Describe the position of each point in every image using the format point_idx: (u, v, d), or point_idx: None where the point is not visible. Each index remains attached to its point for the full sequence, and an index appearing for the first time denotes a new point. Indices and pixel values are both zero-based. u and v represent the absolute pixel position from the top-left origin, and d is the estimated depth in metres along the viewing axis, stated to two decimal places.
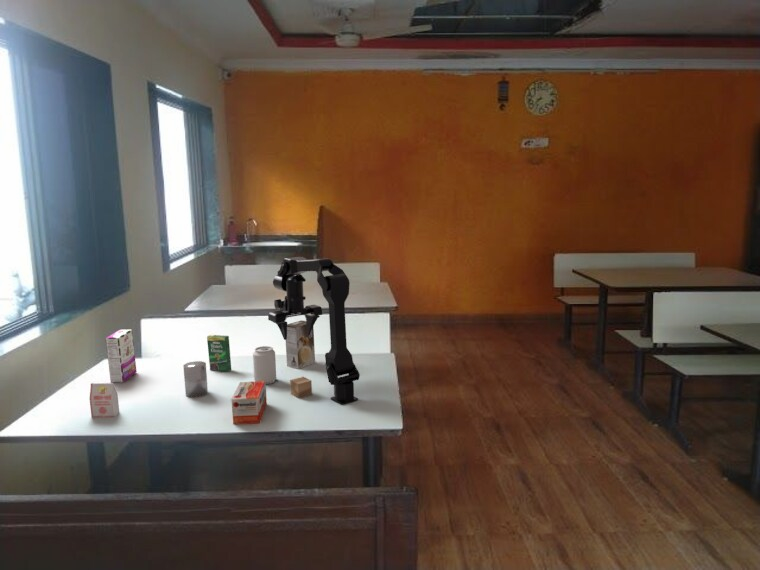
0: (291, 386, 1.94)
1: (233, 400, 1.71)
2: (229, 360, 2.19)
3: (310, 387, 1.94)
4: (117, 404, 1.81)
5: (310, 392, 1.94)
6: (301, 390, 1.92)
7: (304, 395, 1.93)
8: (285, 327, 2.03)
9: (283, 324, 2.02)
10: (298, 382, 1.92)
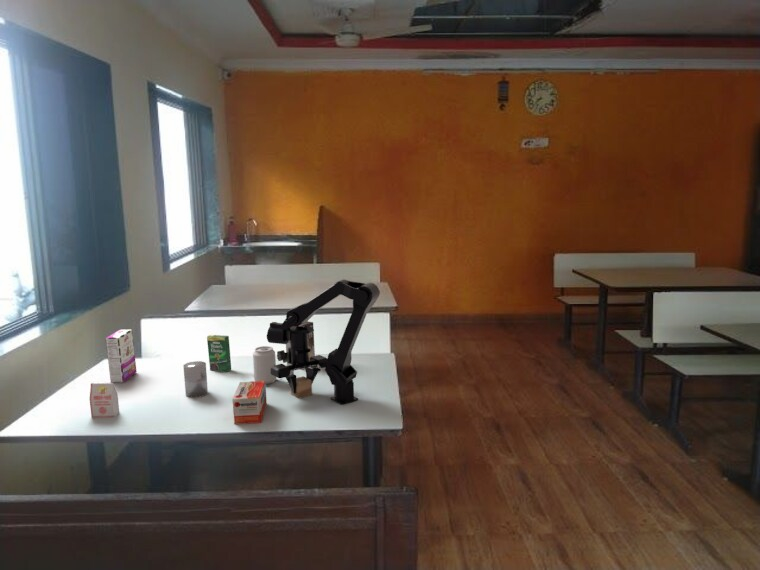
0: None
1: (234, 400, 1.71)
2: (229, 360, 2.19)
3: (310, 387, 1.94)
4: (117, 404, 1.81)
5: (310, 392, 1.94)
6: (301, 390, 1.92)
7: (304, 395, 1.93)
8: (294, 381, 1.90)
9: (292, 378, 1.89)
10: (298, 382, 1.92)
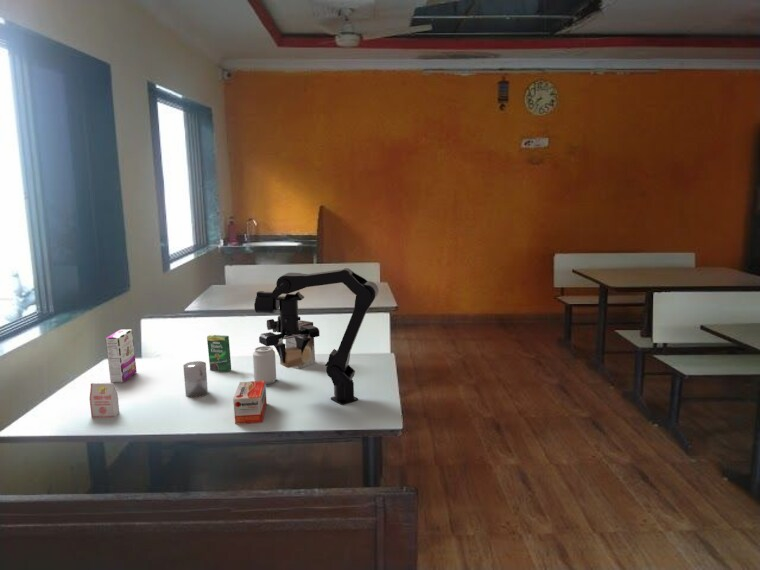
0: None
1: (235, 400, 1.71)
2: (229, 360, 2.19)
3: (300, 356, 1.89)
4: (117, 404, 1.81)
5: (300, 362, 1.90)
6: (290, 359, 1.87)
7: (293, 364, 1.88)
8: (283, 350, 1.85)
9: (281, 346, 1.84)
10: (287, 351, 1.87)
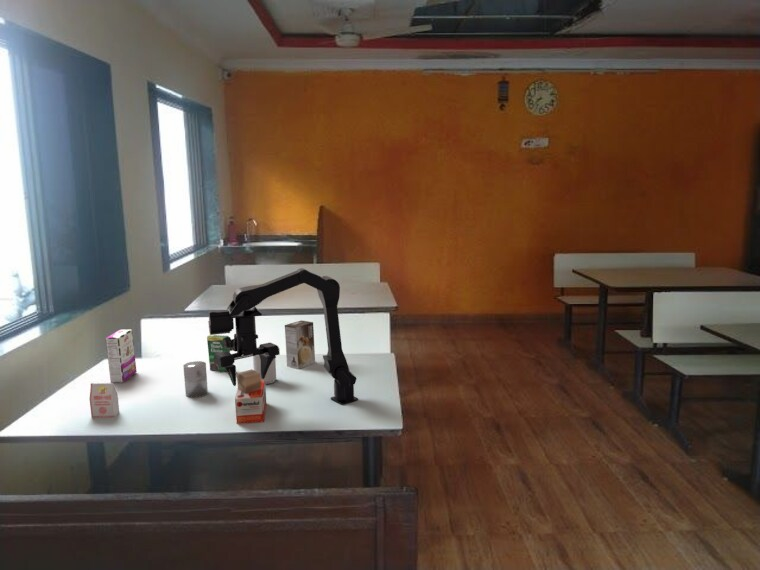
0: (238, 380, 1.78)
1: (237, 400, 1.71)
2: None
3: (259, 381, 1.78)
4: (117, 404, 1.81)
5: (259, 386, 1.78)
6: (249, 384, 1.75)
7: (252, 389, 1.76)
8: (233, 371, 1.72)
9: (231, 368, 1.71)
10: (245, 375, 1.76)
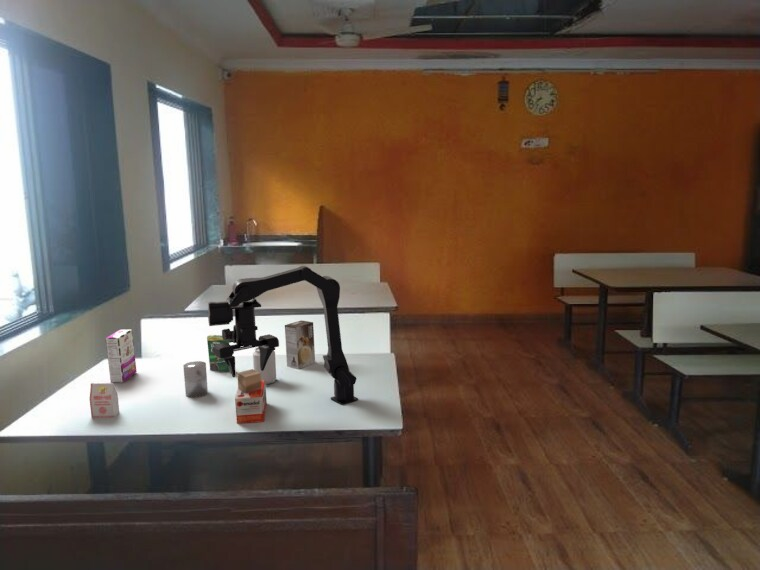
0: (238, 379, 1.78)
1: (237, 399, 1.72)
2: None
3: (259, 380, 1.78)
4: (117, 404, 1.81)
5: (259, 386, 1.78)
6: (249, 384, 1.76)
7: (252, 389, 1.77)
8: (232, 363, 1.71)
9: (230, 360, 1.70)
10: (245, 375, 1.76)
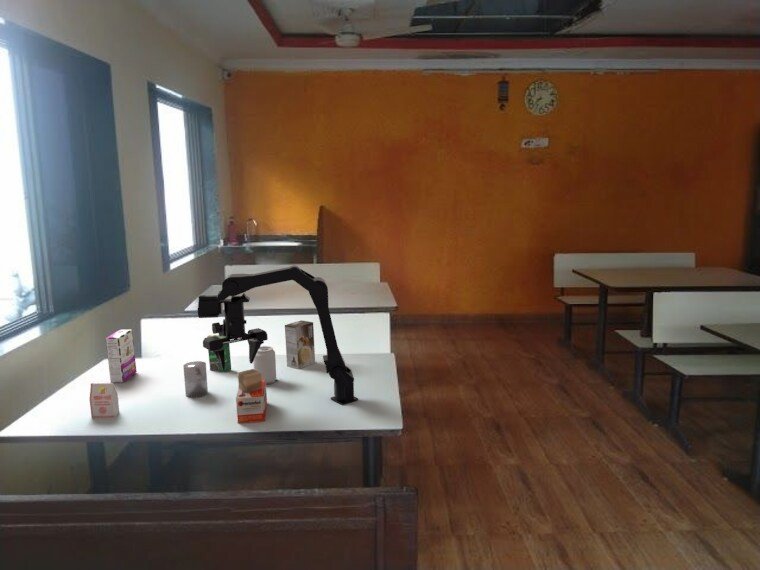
0: (239, 379, 1.78)
1: (238, 399, 1.72)
2: (229, 360, 2.19)
3: (260, 380, 1.78)
4: (117, 404, 1.81)
5: (260, 386, 1.78)
6: (250, 384, 1.76)
7: (253, 389, 1.77)
8: (222, 355, 1.77)
9: (219, 352, 1.76)
10: (246, 375, 1.76)
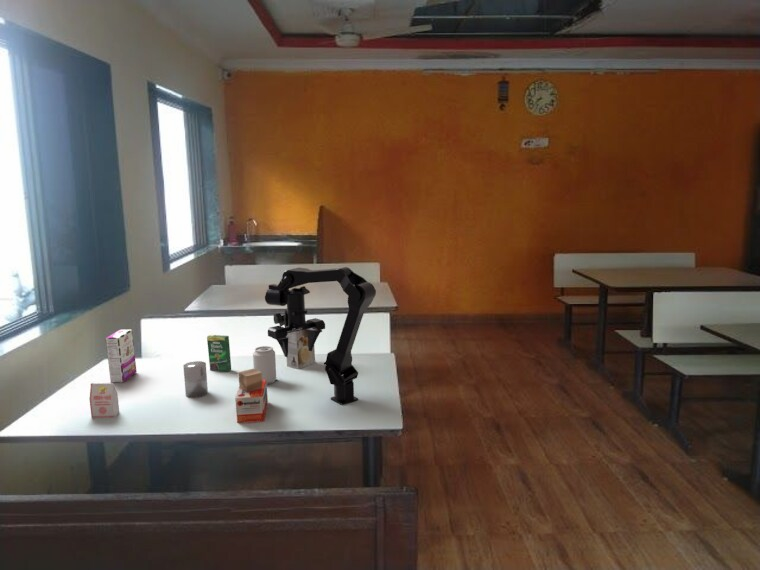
0: (239, 379, 1.79)
1: (237, 399, 1.72)
2: (229, 360, 2.19)
3: (260, 380, 1.78)
4: (117, 404, 1.81)
5: (260, 385, 1.78)
6: (250, 383, 1.76)
7: (253, 388, 1.77)
8: (286, 343, 1.90)
9: (284, 340, 1.88)
10: (246, 374, 1.76)
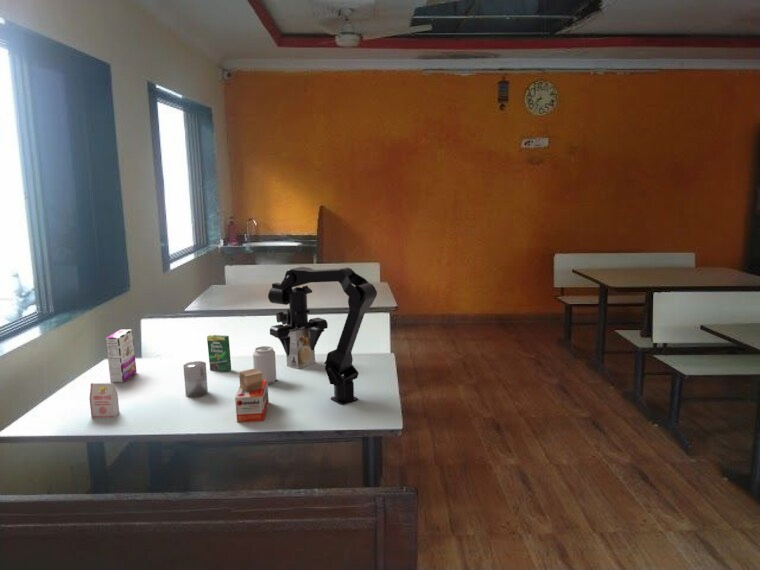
0: (240, 378, 1.79)
1: (237, 398, 1.72)
2: (229, 360, 2.19)
3: (260, 380, 1.78)
4: (117, 404, 1.81)
5: (260, 385, 1.79)
6: (250, 383, 1.76)
7: (254, 388, 1.77)
8: (288, 342, 1.90)
9: (286, 339, 1.89)
10: (247, 374, 1.76)
